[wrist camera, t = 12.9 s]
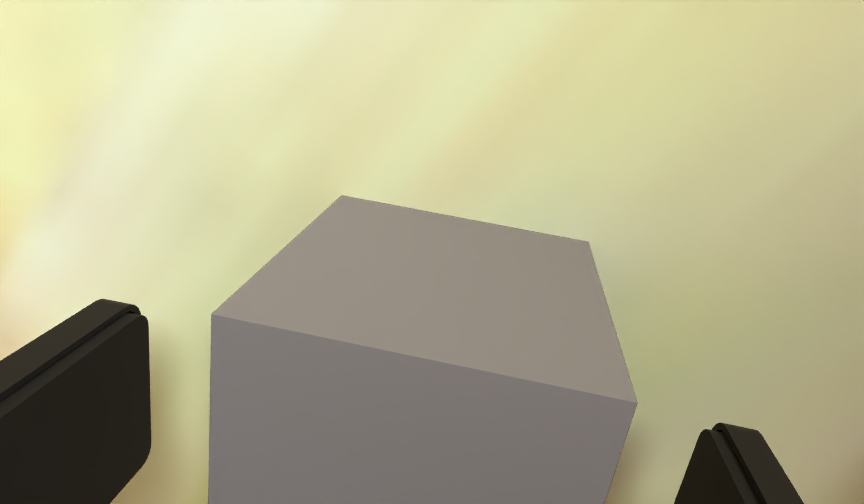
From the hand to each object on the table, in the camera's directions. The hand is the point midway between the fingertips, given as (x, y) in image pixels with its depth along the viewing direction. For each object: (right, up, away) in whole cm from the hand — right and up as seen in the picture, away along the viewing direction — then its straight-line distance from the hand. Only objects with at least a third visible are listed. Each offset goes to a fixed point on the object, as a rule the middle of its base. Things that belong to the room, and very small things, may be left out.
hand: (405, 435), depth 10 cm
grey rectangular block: (+1, +1, +2) cm, 2 cm away
